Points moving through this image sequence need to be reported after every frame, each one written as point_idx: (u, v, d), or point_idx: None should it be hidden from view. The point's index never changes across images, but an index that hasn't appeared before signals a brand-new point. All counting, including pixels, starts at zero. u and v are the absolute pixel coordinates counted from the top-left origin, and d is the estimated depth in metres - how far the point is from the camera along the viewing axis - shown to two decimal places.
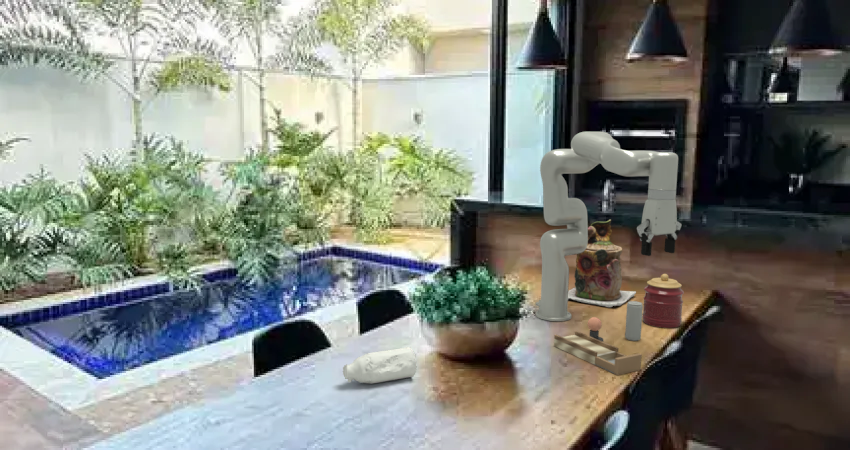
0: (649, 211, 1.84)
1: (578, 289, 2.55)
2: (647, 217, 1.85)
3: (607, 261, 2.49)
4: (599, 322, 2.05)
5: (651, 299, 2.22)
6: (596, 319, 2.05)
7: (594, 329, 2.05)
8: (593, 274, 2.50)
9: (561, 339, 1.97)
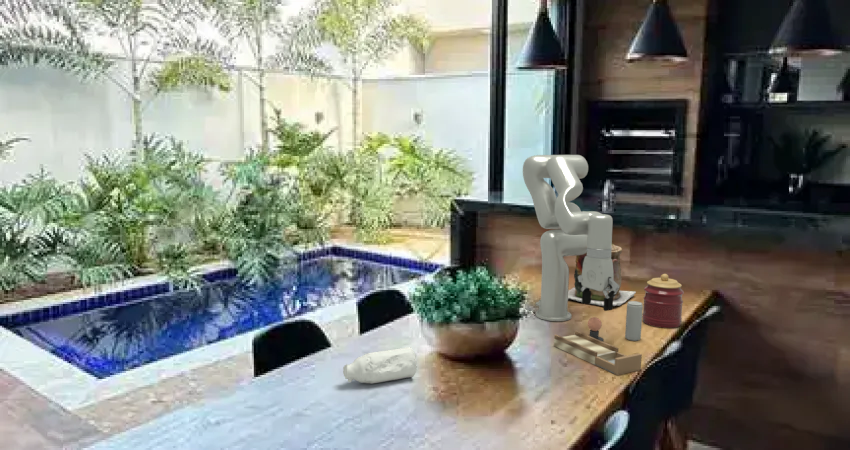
0: (610, 269, 1.99)
1: (578, 289, 2.55)
2: (609, 275, 1.99)
3: None
4: (599, 322, 2.05)
5: (651, 299, 2.22)
6: (596, 319, 2.05)
7: (594, 329, 2.05)
8: None
9: (561, 339, 1.97)
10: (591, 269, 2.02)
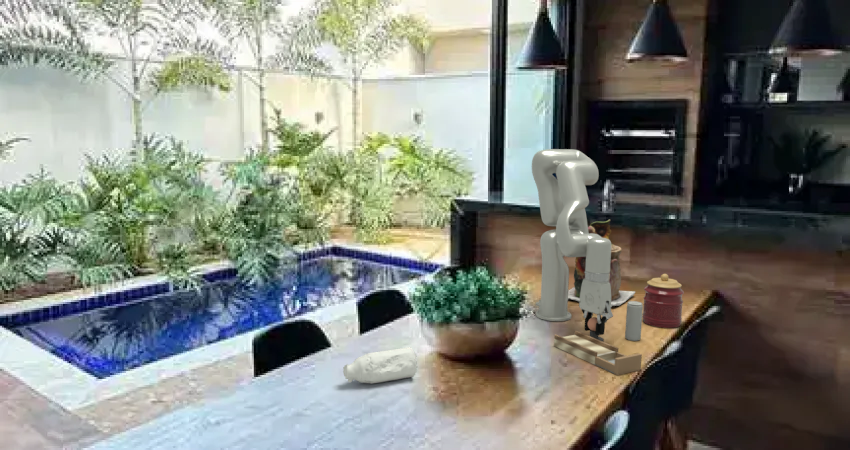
0: (608, 293, 2.01)
1: (577, 289, 2.55)
2: (607, 299, 2.01)
3: None
4: None
5: (651, 299, 2.22)
6: (596, 319, 2.05)
7: (594, 329, 2.05)
8: None
9: (561, 339, 1.97)
10: (589, 292, 2.04)
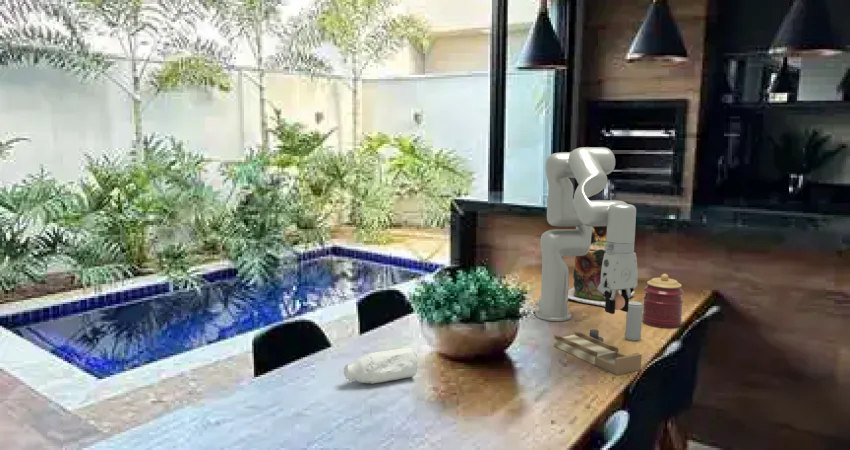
0: None
1: (577, 289, 2.55)
2: None
3: None
4: None
5: (651, 299, 2.22)
6: (620, 295, 1.82)
7: None
8: (592, 274, 2.50)
9: (561, 339, 1.97)
10: (626, 266, 1.78)
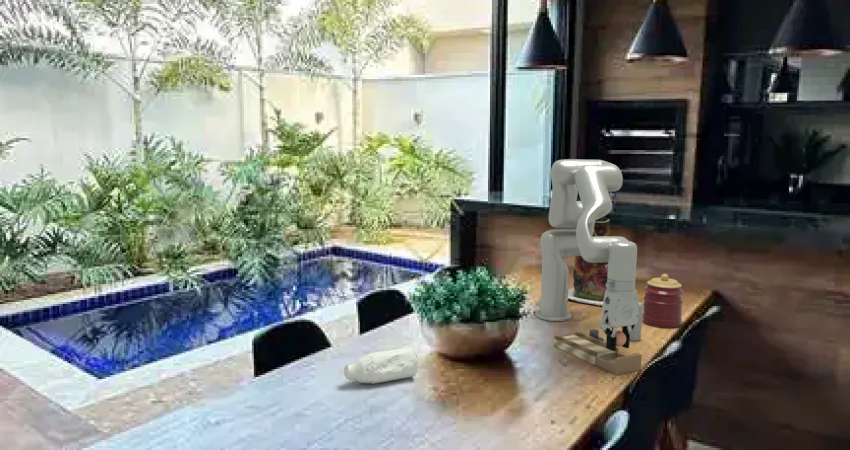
0: None
1: (577, 289, 2.55)
2: None
3: None
4: None
5: (651, 299, 2.22)
6: (622, 332, 1.82)
7: None
8: (591, 274, 2.50)
9: (561, 339, 1.97)
10: (627, 304, 1.79)
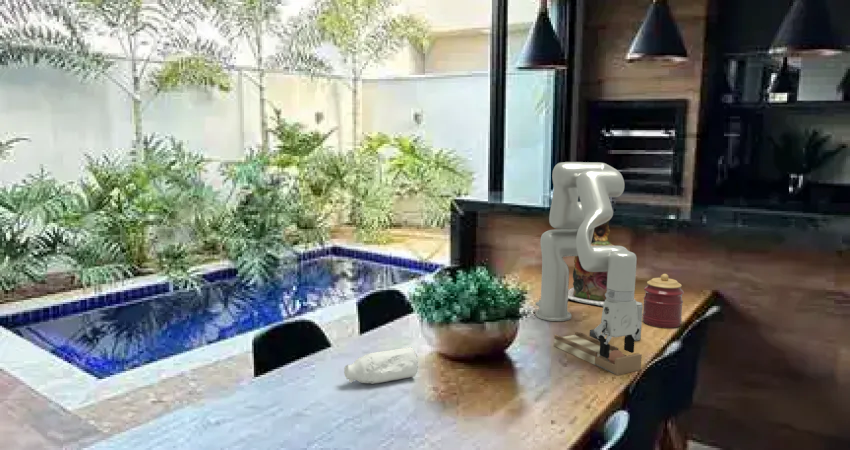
0: None
1: (576, 289, 2.55)
2: None
3: None
4: None
5: (651, 299, 2.22)
6: (620, 351, 1.84)
7: None
8: (591, 274, 2.50)
9: (561, 339, 1.97)
10: (626, 314, 1.79)
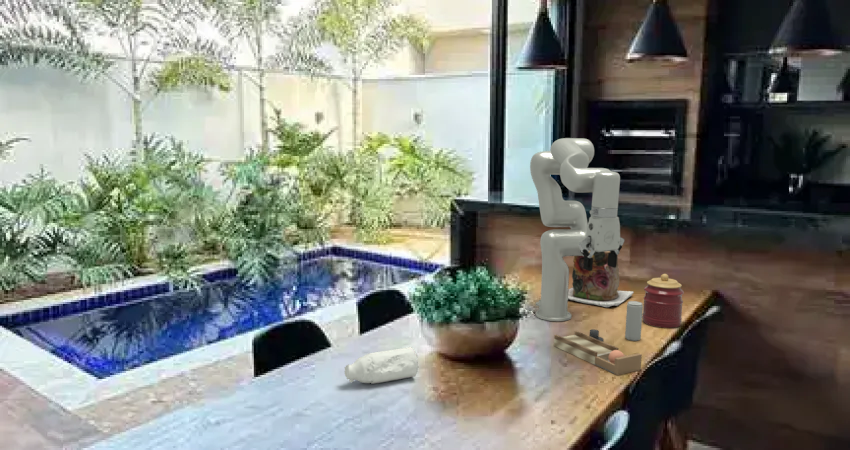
0: None
1: (576, 289, 2.55)
2: None
3: (605, 261, 2.49)
4: None
5: (651, 299, 2.22)
6: (620, 351, 1.84)
7: None
8: (591, 274, 2.50)
9: (561, 339, 1.97)
10: (609, 230, 1.91)
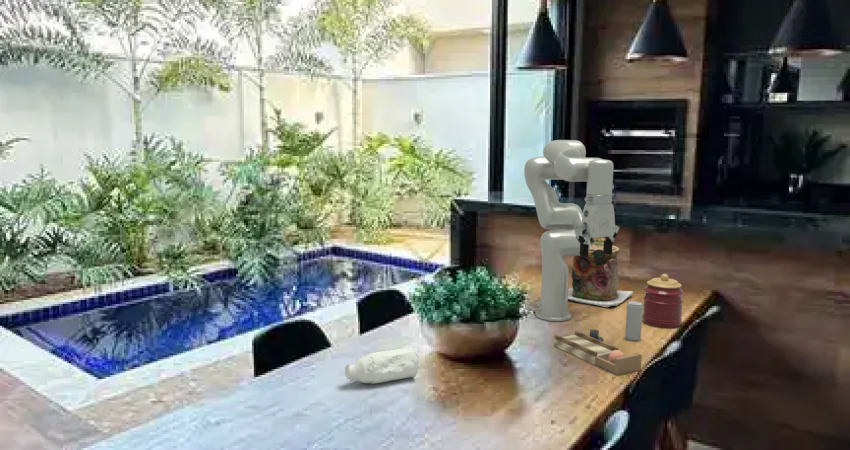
0: None
1: (575, 289, 2.55)
2: None
3: (604, 261, 2.49)
4: None
5: (651, 299, 2.22)
6: (620, 351, 1.84)
7: None
8: (590, 274, 2.50)
9: (561, 339, 1.97)
10: (604, 217, 1.96)
